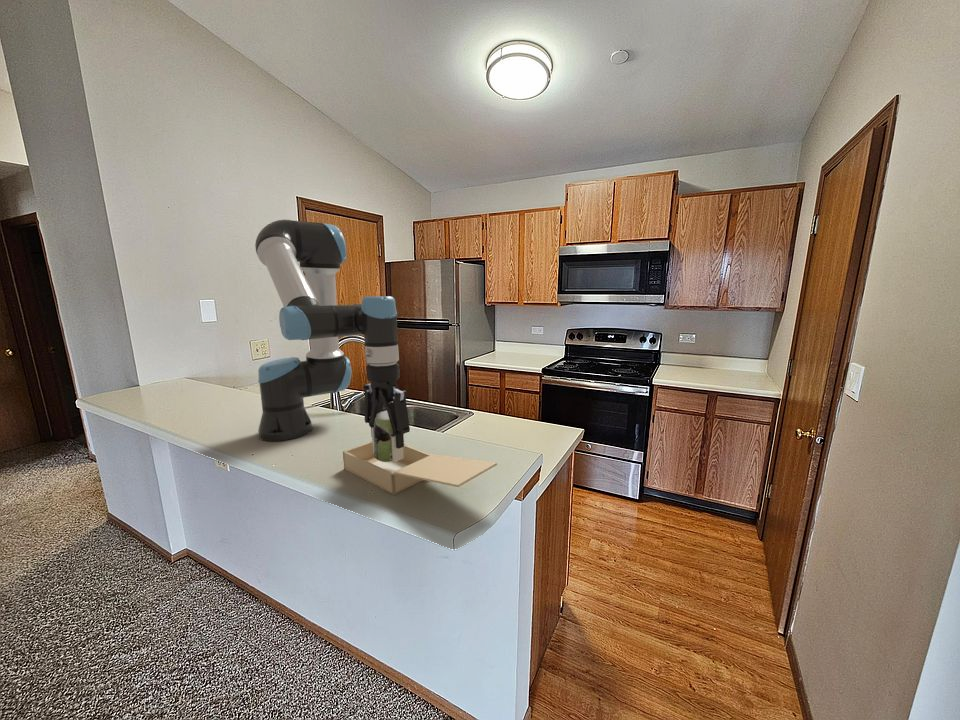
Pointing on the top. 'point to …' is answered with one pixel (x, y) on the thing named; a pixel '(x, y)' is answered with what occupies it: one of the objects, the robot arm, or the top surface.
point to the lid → (446, 469)
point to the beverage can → (383, 437)
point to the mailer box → (382, 467)
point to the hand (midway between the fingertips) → (388, 455)
